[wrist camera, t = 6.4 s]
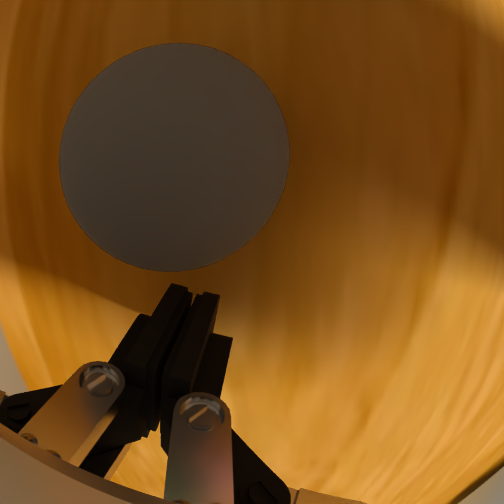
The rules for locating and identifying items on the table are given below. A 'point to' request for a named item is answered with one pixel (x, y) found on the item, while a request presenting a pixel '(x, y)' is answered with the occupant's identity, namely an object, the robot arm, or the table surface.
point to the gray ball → (174, 157)
